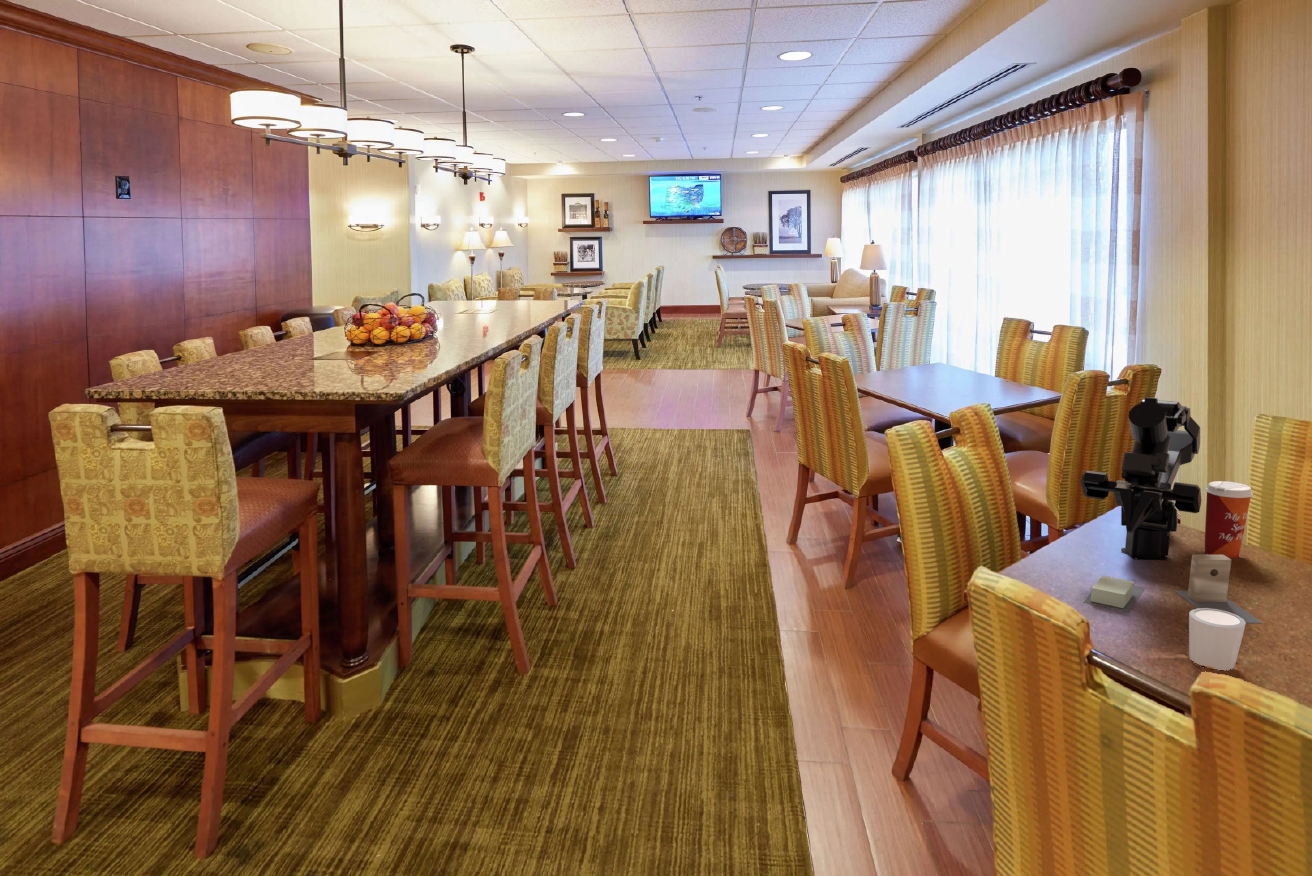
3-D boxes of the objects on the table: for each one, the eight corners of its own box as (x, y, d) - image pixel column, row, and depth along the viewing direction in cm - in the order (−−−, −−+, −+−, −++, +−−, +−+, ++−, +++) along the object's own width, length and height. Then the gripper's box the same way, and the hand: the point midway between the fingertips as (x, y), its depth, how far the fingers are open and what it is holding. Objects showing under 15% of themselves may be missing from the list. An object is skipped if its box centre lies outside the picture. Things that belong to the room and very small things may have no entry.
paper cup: (1230, 564, 160) (1239, 493, 157) (1189, 552, 167) (1197, 484, 164) (1254, 556, 164) (1263, 486, 161) (1212, 545, 170) (1220, 478, 167)
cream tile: (1187, 595, 145) (1192, 554, 143) (1218, 596, 145) (1223, 554, 143) (1195, 601, 143) (1200, 559, 141) (1226, 602, 142) (1231, 559, 141)
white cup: (1185, 646, 128) (1190, 603, 127) (1240, 657, 125) (1246, 613, 123) (1182, 665, 123) (1187, 620, 121) (1239, 677, 119) (1245, 631, 118)
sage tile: (1102, 575, 149) (1091, 587, 143) (1134, 581, 146) (1124, 594, 140) (1101, 588, 149) (1090, 601, 144) (1133, 595, 146) (1123, 608, 141)
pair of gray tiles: (1098, 623, 137) (1099, 619, 137) (1060, 581, 154) (1060, 578, 154) (1263, 627, 134) (1263, 623, 134) (1205, 583, 151) (1205, 580, 151)
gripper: (1087, 428, 156) (1066, 500, 150) (1205, 440, 144) (1188, 519, 139) (1094, 460, 164) (1074, 530, 158) (1208, 474, 152) (1191, 550, 146)
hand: (1129, 531), depth 150 cm, fingers closed
